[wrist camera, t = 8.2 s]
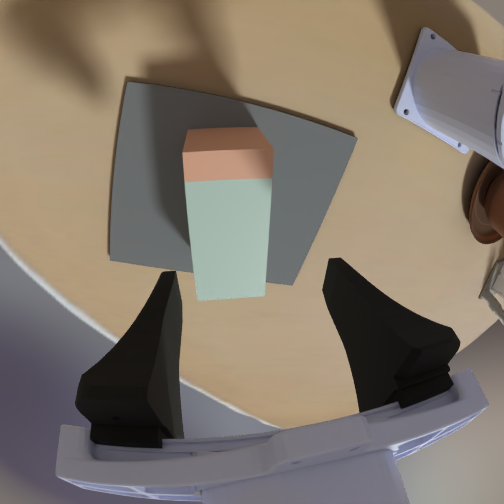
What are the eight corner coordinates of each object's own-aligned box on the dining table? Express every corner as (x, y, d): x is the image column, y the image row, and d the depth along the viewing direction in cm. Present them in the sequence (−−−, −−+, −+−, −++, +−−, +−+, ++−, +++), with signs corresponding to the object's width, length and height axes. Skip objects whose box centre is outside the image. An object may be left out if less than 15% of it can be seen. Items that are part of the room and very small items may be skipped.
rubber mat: (355, 136, 20) (357, 138, 20) (291, 282, 28) (292, 285, 27) (128, 81, 16) (127, 81, 15) (110, 257, 23) (109, 260, 23)
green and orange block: (253, 252, 24) (264, 295, 20) (197, 255, 24) (197, 300, 20) (257, 127, 18) (273, 149, 14) (187, 129, 18) (182, 152, 14)
